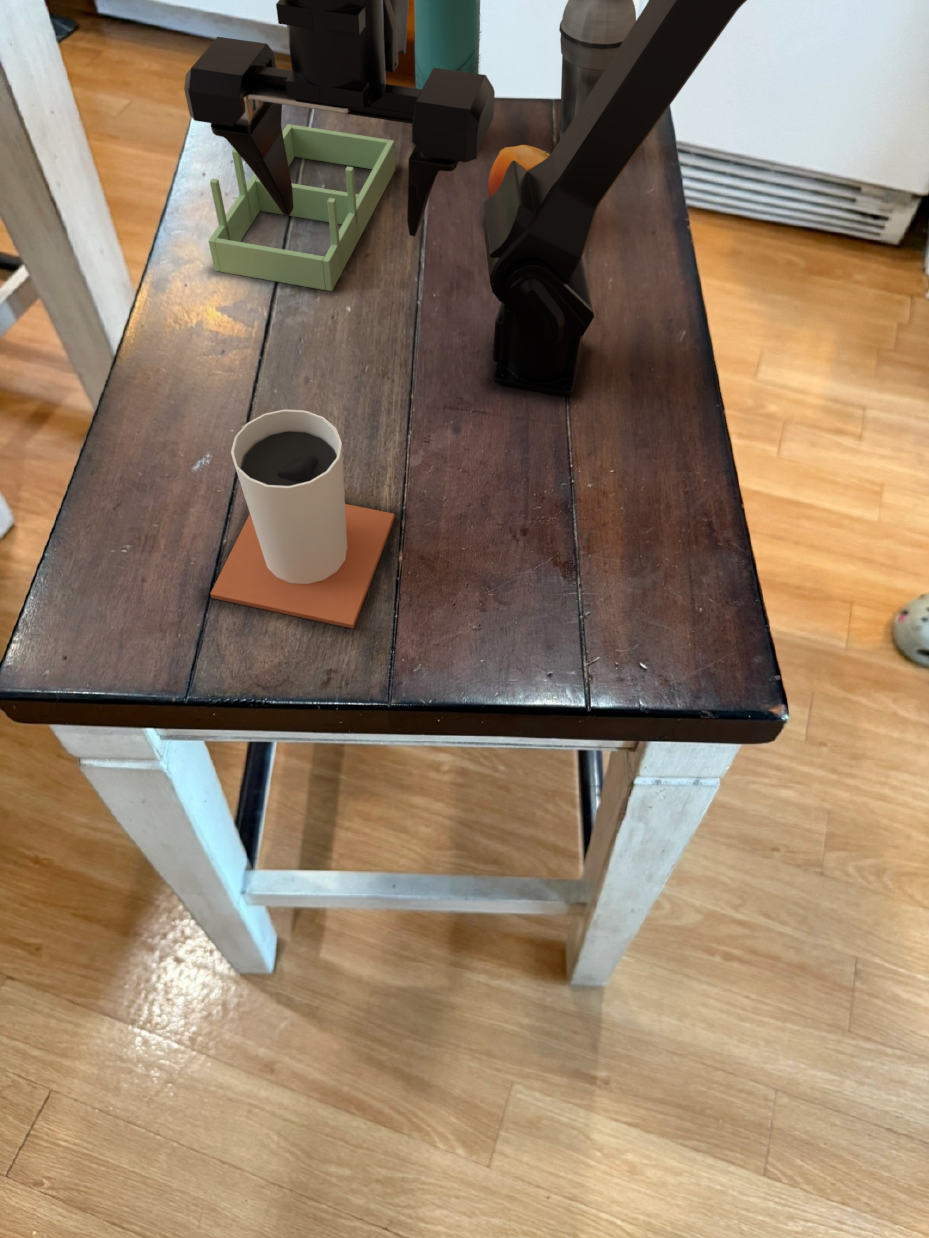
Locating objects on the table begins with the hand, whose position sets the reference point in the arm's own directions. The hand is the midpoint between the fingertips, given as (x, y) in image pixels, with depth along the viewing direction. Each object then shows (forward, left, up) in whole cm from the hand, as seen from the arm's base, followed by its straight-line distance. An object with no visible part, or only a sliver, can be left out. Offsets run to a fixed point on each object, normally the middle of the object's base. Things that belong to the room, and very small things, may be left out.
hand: (350, 222), depth 65 cm
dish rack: (+11, -19, -13) cm, 26 cm away
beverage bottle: (+2, -36, -13) cm, 38 cm away
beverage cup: (-12, -38, -13) cm, 42 cm away
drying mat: (-2, +20, -13) cm, 24 cm away
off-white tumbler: (-2, +20, -13) cm, 24 cm away
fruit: (-9, -24, -13) cm, 29 cm away
